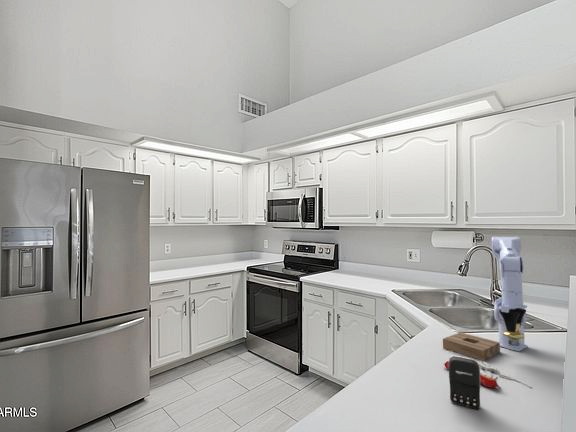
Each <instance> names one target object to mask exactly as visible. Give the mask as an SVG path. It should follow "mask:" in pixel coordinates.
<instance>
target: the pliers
mask: <svg viewBox="0 0 576 432" xmlns="http://www.w3.org/2000/svg"><path fill="white" fill-rule="evenodd" d="M477 362H478V361H477ZM478 364H479V367H480V370H484V372H485V375H487V376H489V377H491V378H493V379H495V380H497V376H498V377H499V378H502V379H506V380H510V381H514V382H518V383H519V384H521V385H523V386H525V387H527V388H529V389H532V386H531V385H530V384H528V383H527V382H525V381H523V380H521V379H519V378H516V377H515V376H512V375H510V374H506V373H502V372H501V371H500V370H499V369H497V368H496V367H494V366H491V364H489V363H487V362H486V361H482V362H478ZM493 373H494V374H495V375H494V377H492V375H493ZM495 388H498V389H502V386H501V385H499V386H496V387H495Z"/></svg>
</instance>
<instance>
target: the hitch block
mask: <svg viewBox="0 0 576 432" xmlns="http://www.w3.org/2000/svg"><path fill="white" fill-rule="evenodd" d="M442 348H443V349H444V350H448V351H451V352H453V353H457V354H460V355H462V356H463V355H464V356H465V357H466V356H467V357H469V358H472V359H477V360H480V361H482V362H486V360H488V359H490V358H492V357H494V356H496V355H498V354H499V353H501V347H500V342H499V341H496V340H492V339H488V338H484V337H480V336H478V335H477V336H476V335H473V334H469V333H465V332H461V331H460V332H458V333H454V334H451V335H449V336H446V337H444V338H442Z"/></svg>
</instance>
